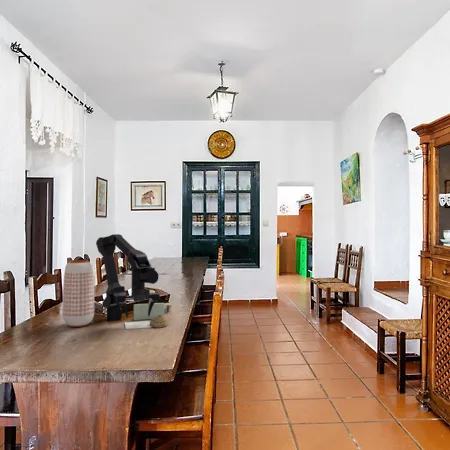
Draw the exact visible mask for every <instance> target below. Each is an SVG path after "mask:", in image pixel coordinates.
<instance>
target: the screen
mask: <svg viewBox="0 0 450 450" xmlns="http://www.w3.org/2000/svg"><path fill="white" fill-rule="evenodd" d="M164 304H165V303H164V302H157V303H154V305H153V307H152V310H151V313H150V316H149V317H148V307H149V303H137V304H133V321H134V322H138V321H144V320H152V319H154V318H155V317H156V316H158V315H162V316H164V317H165V313H164Z"/></svg>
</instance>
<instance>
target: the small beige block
mask: <svg viewBox="0 0 450 450" xmlns="http://www.w3.org/2000/svg"><path fill="white" fill-rule="evenodd" d="M167 313H172V304H171V303H169V302H166V303H164V314H167Z"/></svg>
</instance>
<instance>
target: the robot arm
mask: <svg viewBox="0 0 450 450" xmlns="http://www.w3.org/2000/svg"><path fill="white" fill-rule="evenodd" d="M95 244H96V248H97V251H98V253H99V254H100V255H101V256H102V260H103V264H104V270H105V274H106V280H107V288H106V291H105V296H106V297H105V298H104V299H103V300H102V307H103V308H106V318H105V321H106V322H112V321H121V320H122V318H123V316H122V315H123V309H124V314H125V316H126V319H128V318H129V313H128V306H127V301H134V302H145V301H146V300H148V304H149V307H148V317H149V316H150V313H151V310H152V307H153V305H154V303H158V301H161V294H160V293H159V292H151V290H150V288H146V287H145V284H151V285H155V284H156V283H157V282H158V280H159V274H158V273H159V272H158V271H157V270H156V267H153V266H152V264H151V262H150V260H149V258H148V255H147V254H146V253H145V252H143V251H142V250H139V249H136V248H135V247H134V246H133V245H131V244H130V243H129V241H127V240H126V239H125V238H124V237H123V235H122V234H119V233H118V234H117V233H116V234H115V233H114V234H111V235H108V236H102V237H101V236H100V237H99V238H97V240H96V241H95ZM117 248H118V250H120V251H121V252H122V253H123V254H124V255H125V257H126V261H127V262H128V264H129V266H130V267H129V268H128V271H129V272H131V295H127V293H126V289H125V286H124V285H121V284H120V281H119V276H118V271H117V266H116V265H117V264H116V261H115V260H116V259H115V256H114V253H115V251H116V249H117ZM121 306H122V307H123V308H121Z"/></svg>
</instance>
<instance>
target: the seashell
mask: <svg viewBox="0 0 450 450" xmlns="http://www.w3.org/2000/svg"><path fill="white" fill-rule="evenodd" d="M169 322H170V319H168V318H167V317H166V316H165V315H164V316H162V315H158V316H156V317H155V318H154V319H150V325H151V326H152V327H151V328H163V327H166V326H168V324H169Z"/></svg>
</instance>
